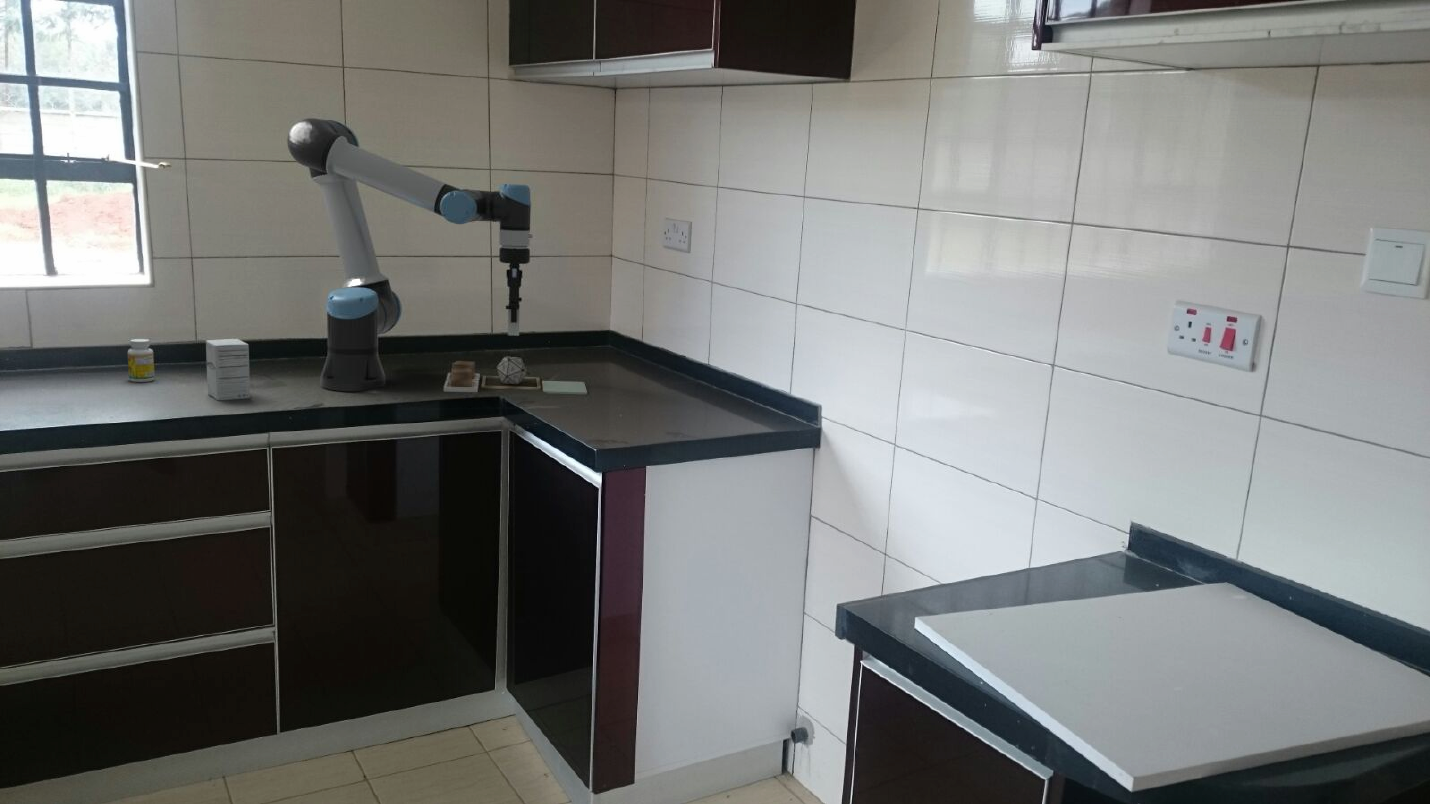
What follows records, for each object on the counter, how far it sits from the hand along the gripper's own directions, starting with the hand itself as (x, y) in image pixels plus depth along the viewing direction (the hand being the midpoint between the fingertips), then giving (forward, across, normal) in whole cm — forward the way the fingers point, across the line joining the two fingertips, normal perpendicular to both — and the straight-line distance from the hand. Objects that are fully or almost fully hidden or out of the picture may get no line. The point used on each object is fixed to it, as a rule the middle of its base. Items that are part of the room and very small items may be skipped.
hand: (513, 331), depth 270 cm
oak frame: (+14, 0, 0) cm, 14 cm away
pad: (+14, -2, -13) cm, 19 cm away
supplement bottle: (+13, -5, +86) cm, 88 cm away
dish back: (+14, +2, +12) cm, 19 cm away
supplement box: (+14, -20, +64) cm, 68 cm away
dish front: (+14, -8, +12) cm, 20 cm away
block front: (+13, -8, +12) cm, 20 cm away
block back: (+13, +2, +12) cm, 18 cm away
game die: (+14, 0, 0) cm, 14 cm away
